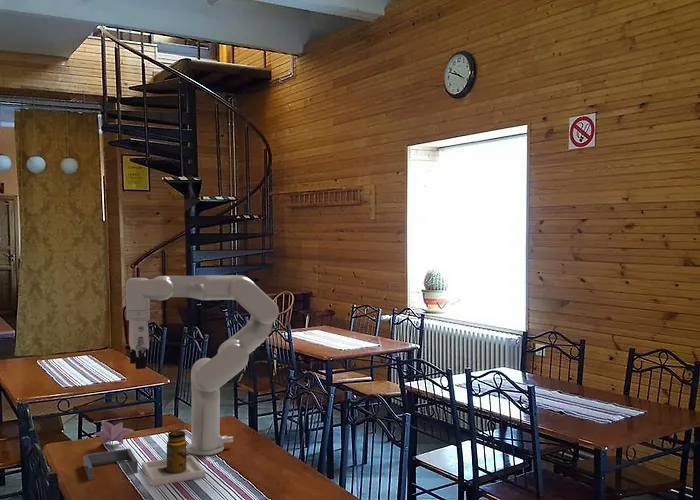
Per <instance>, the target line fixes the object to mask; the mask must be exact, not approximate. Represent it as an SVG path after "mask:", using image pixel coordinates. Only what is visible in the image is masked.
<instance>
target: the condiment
mask: <svg viewBox="0 0 700 500" xmlns="http://www.w3.org/2000/svg"><path fill="white" fill-rule="evenodd" d="M187 446H188V444H187V439H186V432H185V431H184V430H173V431H169V432H168V434H167V442H166V459H167V467H165V468H158V469H157V470H158V471H159V472H160V473H161V474H162V475H163V476H169V475H175V474H181V473H186V472H190V470H188V469H187V468H186V462H187V460H186V458H187V457H186V456H188V455H187V454H188V452H187Z"/></svg>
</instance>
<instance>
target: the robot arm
mask: <svg viewBox="0 0 700 500" xmlns="http://www.w3.org/2000/svg"><path fill="white" fill-rule="evenodd" d="M125 286H126V287H125V290H126V293H125V295H126V296H125V304H126V305H125V320H126V321H128V345H129V347H130V349H129V350H130V352H129V364H130V365H133V364H134V365H135V369H136V370H143V369H146V368H147V356H146V355H147V353H146V350H149V348H150V341H149V340H150V339H149V338H150V337H149V323H148V321H149V320H150V319H151V318H150V317H151V313H150V312H151V310H150V309H151V308H150V307H151V306H150V305H151V300H157V301H166V300H168V299H170V298H190V299H191V298H192V299H196V300H200V301H221V300H222V301H223V300H224V301H226V300H227V301H228V300H229V301H231V300H232V301H236V302H237V303H238V304H239V305H240V306H241V307H242V308H244V310H246V311H247V312H248V313H249V314H250V318H249V320H248V322H247V323H246V324H245V325H244V326H243V327H242V328H241V329H240V330H239V331H237V332H235V334H233V335H232V336H231V337H229V338H228V339H227V340H225V341H224V342H223V343H221V344H220V345H219V348H218V349H217V354H216V355H215V356H213V357H212V358H209V357H202V358H200V359H197V360H196V361H195V362H194V364H192V367H191V370H190V383H191V384H190V386H191V387H190V388H191V412H190V413H191V418H190V419H191V420H190V421H191V430H190V431H191V435H190V438H191V439H190V440H191V443H189V444H187V446H186V447H187V449H186V452H187V454H188V453H189V455H192V456H210V455H211V456H213V455H216V454H219V453H221V452H223V451H224V449H225V445H224V444H225V443H233V442H234V436H228V435H223V436H222V435H221V434H220V430H221V429H220V425H221V424H220V423H221V419H220V418H221V417H220V412H221V411H220V409H221V408H220V407H221V406H220V405H221V404H220V403H221V395H220V394H221V393H220V391H221V390H220V388H221V387H223V386H224V385H225V384H226V383H228V382H229V381H231V380H232V379H233V378H234V377H236V375H238V374H239V373H241V371H243V369H244V368H245V367H246V366H247V365H248V362H249V360H250V359H249V357H250V354H251V353H253V352H254V350H256V349H257V348H258V347H259V346H260V345H262V344H263V343H264V341H265V340H266V339H267V338H268V336H269V335H270V333H271V331H272V327H273V323H275V321H276V320H277V319H278V317H279V315H280V310H279V305H278V304H277V303H276V302H275V301H274V300H273V299H272V298H271V297H270V296H268V294H267V293H265V292H264V291H263V290H262V289H261V288H260V287H259V286H258V285H256V284H255V282H254V281H253V280H251V279H250V277H249V278H248V277H247V276H245V275H241V274H240V275H239V274H238V275H236V274H235V275H232V274H231V275H229V274H228V275H225V274H222V275H220V274H217V275H215V274H213V275H209V274H207V275H205V274H204V275H203V274H202V275H158V276H155V277H154V278H151V279H149V278H146V277H131V278H127V280H126V283H125Z"/></svg>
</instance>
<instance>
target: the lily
mask: <svg viewBox="0 0 700 500" xmlns="http://www.w3.org/2000/svg"><path fill="white" fill-rule="evenodd" d="M100 423H101V428H102V430H100V431H98V432H96V433H94V434H93V436H98V437H102V441H101V443H102V444H103V445H105V444H107V443H109V442H111V451H114V444H113V443H114V441H116V442H118V443H121V444H124V438H123V436H125V435H128V434H131V433H134V432H135V430H134V429H131V428H126V427H123V425H124V423H123V422H119V423H116V425H114V424H112V423H110V422H108V421H105V420H101V422H100Z"/></svg>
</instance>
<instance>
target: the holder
mask: <svg viewBox="0 0 700 500" xmlns="http://www.w3.org/2000/svg"><path fill="white" fill-rule="evenodd" d="M82 456H83V457H82V458H83V459H82V460H83V462H82V463H83V464H82V465H83V468H84V471H85V474H86V477H87V479H88V481H91V480H94V478H93V477H94V475H93V474H94V473H93V472H94V470H93V469H94V468H93V466H99V465H104V464H112V463H119V462H120V463H121V462H127V463H128V466H129V467H130V469H131V471H132V472H133V473H134V474H136V473H138V471H139V470H138V469H139V468H138V467H139V466H138V465H139V464H138V463H139V462H138V459H137V458H136V456H135V454H134V453H133V450H131V448H130V447H129V448H122V449H116V450H114V449H113V450H110V451H107V450H106V451H100V452H94V453H87V454H83V455H82Z"/></svg>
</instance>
